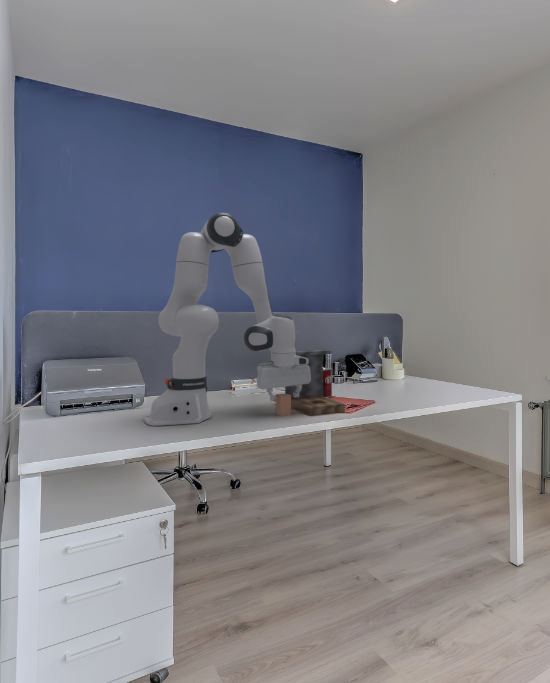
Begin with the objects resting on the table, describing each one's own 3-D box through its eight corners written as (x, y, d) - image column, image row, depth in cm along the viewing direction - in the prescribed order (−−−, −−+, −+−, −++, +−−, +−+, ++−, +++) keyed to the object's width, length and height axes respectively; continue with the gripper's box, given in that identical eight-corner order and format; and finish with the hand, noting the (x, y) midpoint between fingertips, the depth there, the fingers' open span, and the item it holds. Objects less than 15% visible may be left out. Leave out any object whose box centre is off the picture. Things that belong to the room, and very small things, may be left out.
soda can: (331, 395, 199) (331, 367, 198) (332, 398, 192) (332, 369, 191) (314, 395, 200) (314, 367, 199) (314, 398, 193) (314, 369, 192)
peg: (280, 416, 161) (280, 396, 161) (276, 413, 165) (275, 394, 165) (291, 414, 163) (290, 395, 163) (286, 412, 167) (285, 393, 166)
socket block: (302, 417, 159) (302, 356, 158) (280, 407, 176) (279, 352, 175) (351, 411, 168) (351, 353, 166) (326, 402, 184) (325, 349, 183)
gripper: (260, 363, 156) (262, 404, 158) (312, 358, 165) (313, 396, 167) (253, 362, 162) (254, 400, 163) (303, 357, 171) (304, 394, 172)
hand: (284, 398), depth 165 cm, fingers open, 8 cm apart
